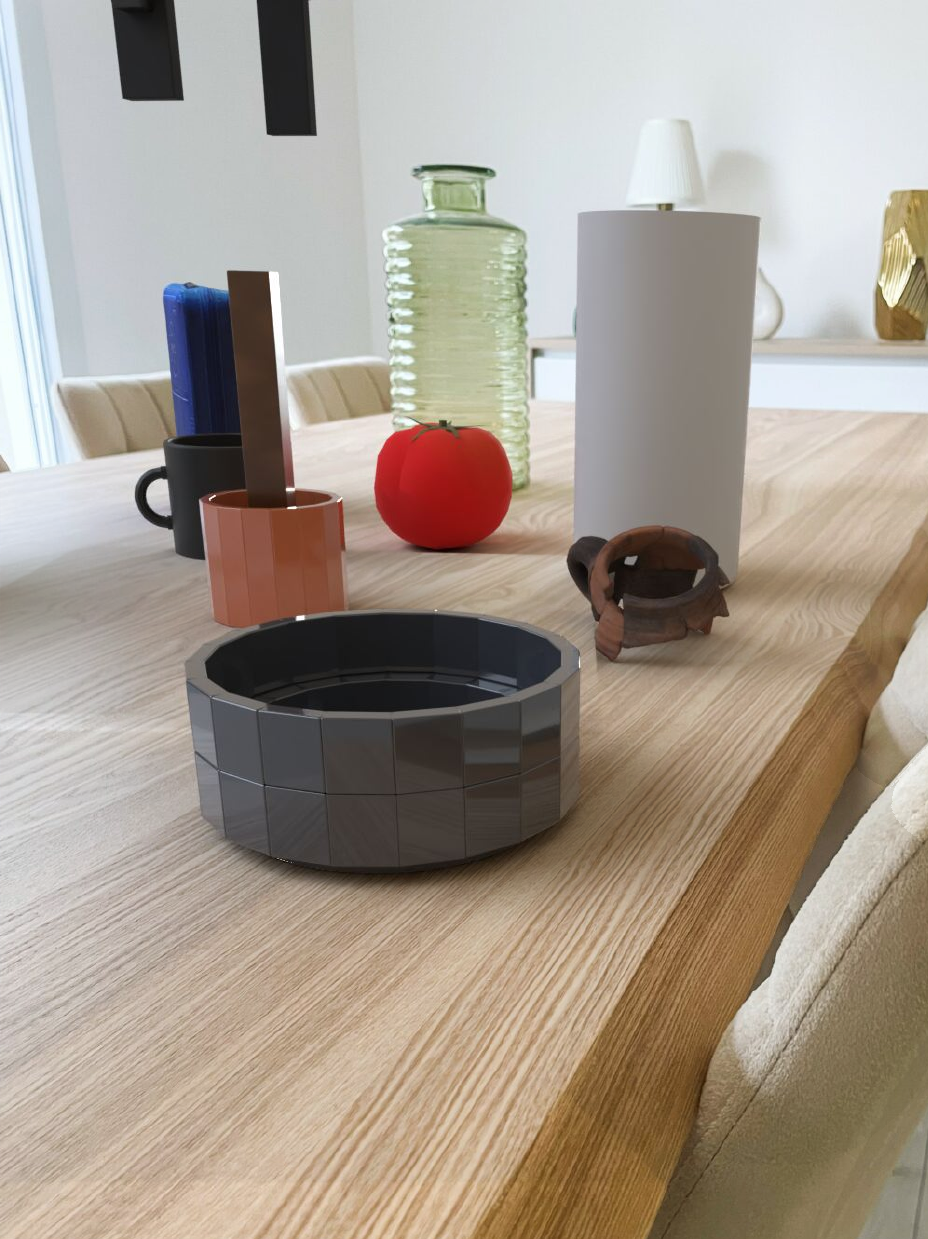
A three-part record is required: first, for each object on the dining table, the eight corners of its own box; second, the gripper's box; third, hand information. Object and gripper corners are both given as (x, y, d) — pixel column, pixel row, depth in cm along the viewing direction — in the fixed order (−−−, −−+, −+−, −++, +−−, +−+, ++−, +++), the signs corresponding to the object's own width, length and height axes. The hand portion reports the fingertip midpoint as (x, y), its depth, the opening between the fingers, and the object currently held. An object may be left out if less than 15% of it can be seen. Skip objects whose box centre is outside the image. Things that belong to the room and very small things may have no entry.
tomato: (371, 533, 107) (365, 411, 102) (499, 530, 109) (498, 411, 105) (385, 561, 96) (378, 426, 92) (526, 557, 99) (526, 426, 95)
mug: (153, 547, 99) (139, 432, 95) (303, 545, 101) (295, 433, 97) (131, 572, 90) (115, 447, 87) (296, 570, 92) (286, 447, 89)
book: (177, 501, 120) (153, 281, 112) (233, 499, 122) (212, 282, 114) (198, 526, 108) (172, 282, 100) (259, 523, 110) (238, 284, 102)
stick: (257, 617, 76) (226, 270, 68) (266, 607, 78) (236, 270, 70) (296, 617, 76) (268, 271, 68) (303, 608, 78) (278, 271, 71)
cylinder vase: (765, 577, 94) (792, 220, 84) (684, 607, 84) (704, 209, 74) (629, 556, 100) (640, 222, 90) (540, 582, 91) (541, 211, 81)
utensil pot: (197, 641, 74) (182, 508, 70) (232, 607, 81) (220, 486, 78) (336, 643, 74) (327, 510, 71) (358, 610, 82) (351, 489, 78)
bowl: (150, 885, 44) (127, 715, 41) (253, 738, 58) (240, 605, 56) (579, 888, 44) (582, 721, 42) (576, 742, 59) (578, 611, 56)
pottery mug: (756, 645, 78) (764, 546, 71) (671, 738, 73) (670, 642, 67) (608, 571, 82) (602, 473, 76) (519, 655, 78) (504, 558, 71)
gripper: (79, -635, 42) (155, 79, 50) (375, -309, 64) (393, 146, 72) (-106, -606, 43) (-2, 81, 51) (246, -298, 65) (279, 146, 74)
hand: (229, 120), depth 62 cm, fingers open, 13 cm apart
